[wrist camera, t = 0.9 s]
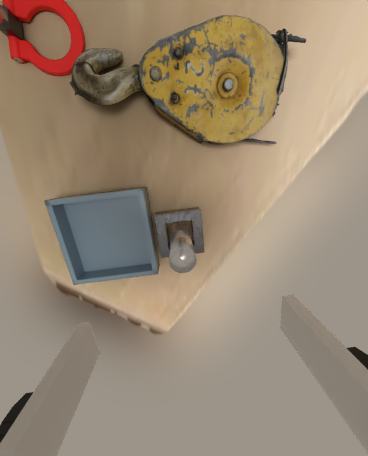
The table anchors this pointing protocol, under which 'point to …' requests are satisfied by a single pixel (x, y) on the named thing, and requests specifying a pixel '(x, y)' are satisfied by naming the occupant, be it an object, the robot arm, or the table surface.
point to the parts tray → (105, 235)
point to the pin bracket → (178, 216)
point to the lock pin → (181, 249)
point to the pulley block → (199, 78)
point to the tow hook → (23, 50)
